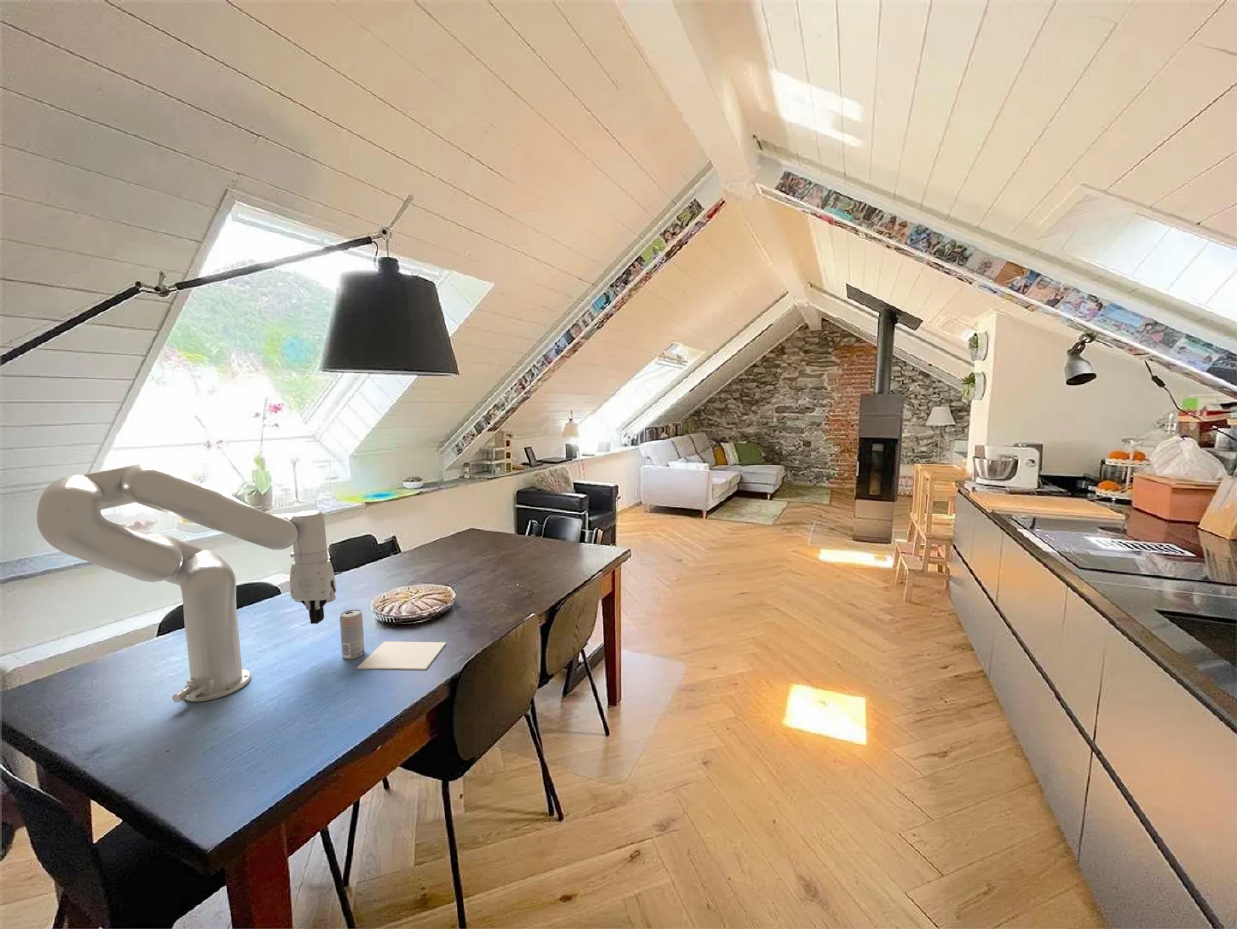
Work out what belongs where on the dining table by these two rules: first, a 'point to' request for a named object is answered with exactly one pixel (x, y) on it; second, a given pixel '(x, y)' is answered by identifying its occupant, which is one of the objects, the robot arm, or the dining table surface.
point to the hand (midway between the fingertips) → (317, 621)
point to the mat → (403, 655)
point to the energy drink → (352, 634)
